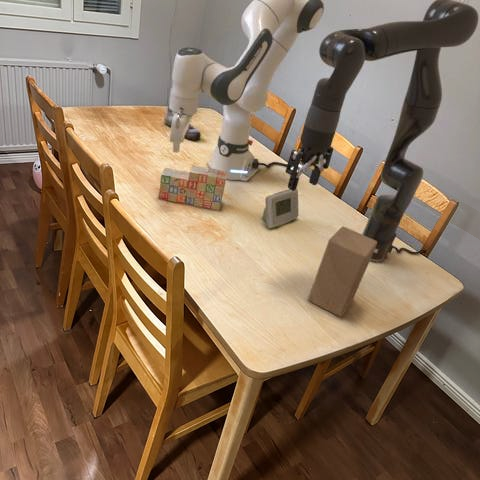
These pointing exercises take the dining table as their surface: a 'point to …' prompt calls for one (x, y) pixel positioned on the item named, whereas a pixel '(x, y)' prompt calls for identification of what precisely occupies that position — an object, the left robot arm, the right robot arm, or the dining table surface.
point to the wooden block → (341, 270)
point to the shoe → (191, 131)
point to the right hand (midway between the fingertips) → (302, 186)
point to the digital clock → (281, 208)
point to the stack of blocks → (193, 186)
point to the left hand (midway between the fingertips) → (178, 146)
